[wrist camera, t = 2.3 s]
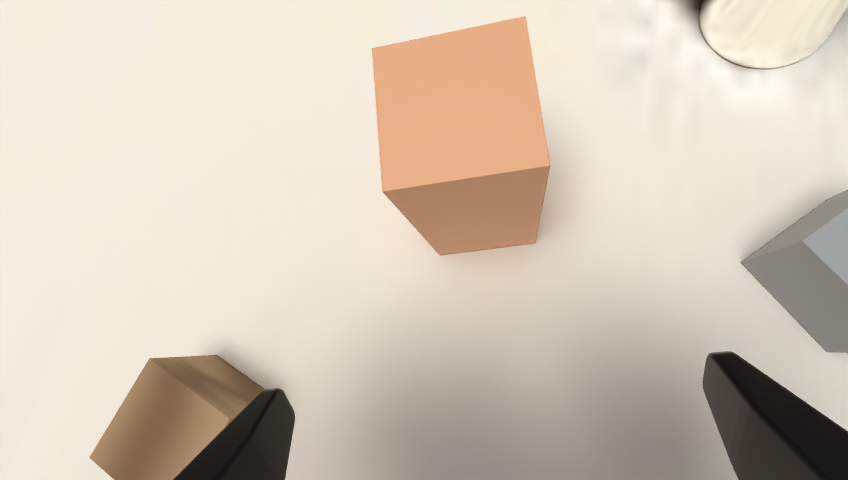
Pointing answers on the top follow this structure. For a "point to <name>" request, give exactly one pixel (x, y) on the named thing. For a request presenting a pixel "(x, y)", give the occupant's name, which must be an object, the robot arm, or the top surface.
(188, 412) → the walnut cube
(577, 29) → the top surface
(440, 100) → the terracotta block
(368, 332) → the top surface
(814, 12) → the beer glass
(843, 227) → the slate cube
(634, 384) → the top surface
